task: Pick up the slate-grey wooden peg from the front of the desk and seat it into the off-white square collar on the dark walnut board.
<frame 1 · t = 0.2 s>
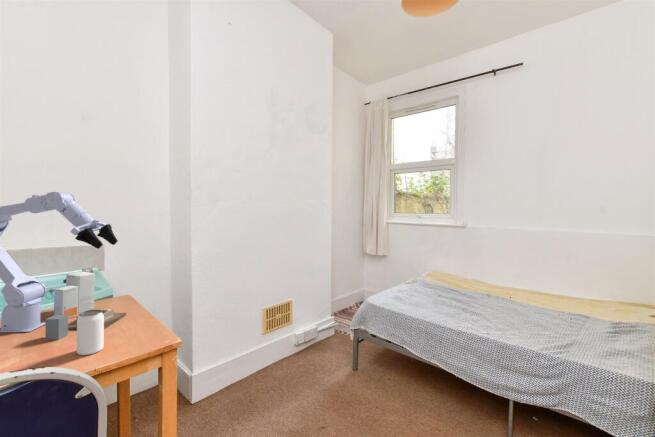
hand: (108, 244, 106), 31 cm above the table, tool tilted 45°, fingers open, 7 cm apart
skincare box: (80, 310, 124), on the table
skincare box 2: (66, 318, 115), on the table
grey peg: (57, 337, 99), on the table
can: (90, 351, 91), on the table
socket board: (95, 322, 112), on the table
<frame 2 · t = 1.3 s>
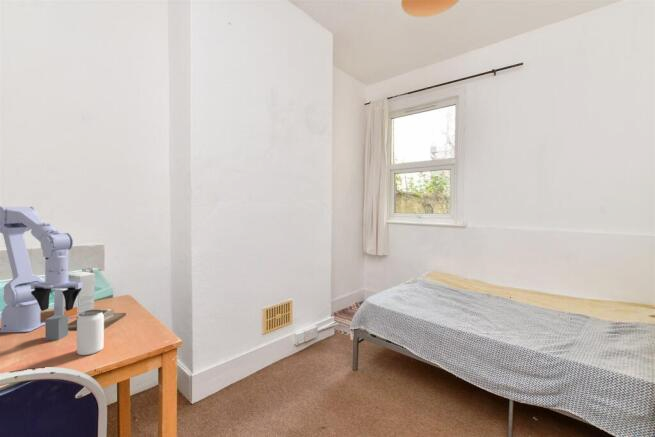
hand: (57, 309, 98), 9 cm above the table, tool pointing down, fingers open, 7 cm apart
nothing on the table moved.
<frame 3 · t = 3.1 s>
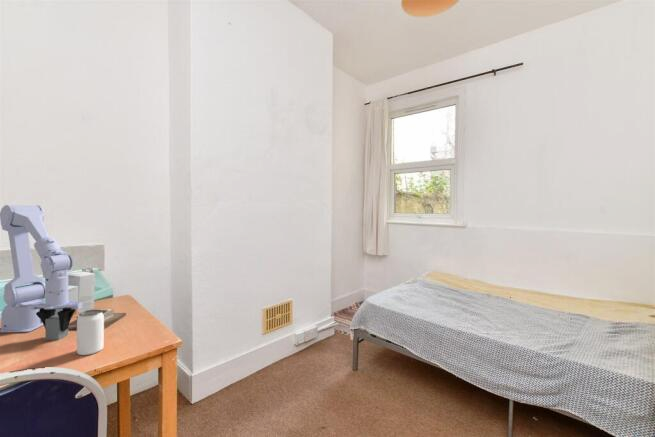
hand: (57, 330, 99), 2 cm above the table, tool pointing down, fingers closed on grey peg, 4 cm apart
grey peg: (57, 337, 99), on the table, touching gripper
everything else where it was.
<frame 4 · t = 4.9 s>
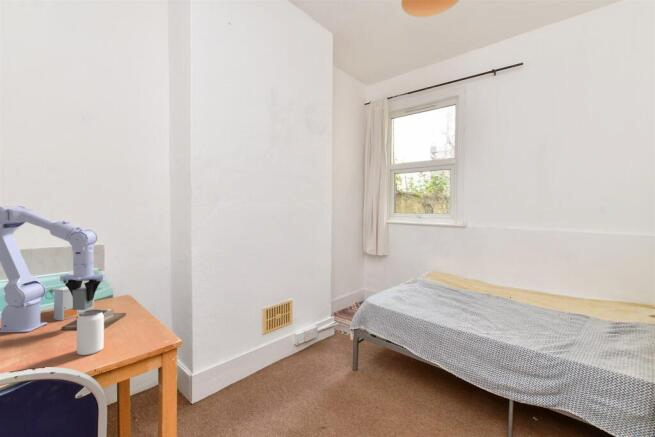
hand: (83, 300, 107), 10 cm above the table, tool pointing down, fingers closed on grey peg, 4 cm apart
grey peg: (82, 307, 107), point 7 cm above the table, touching gripper
everything else where it was.
when the fingers open (5 cm above the table, at t = 7.0 s): grey peg drops 1 cm, resting on socket board.
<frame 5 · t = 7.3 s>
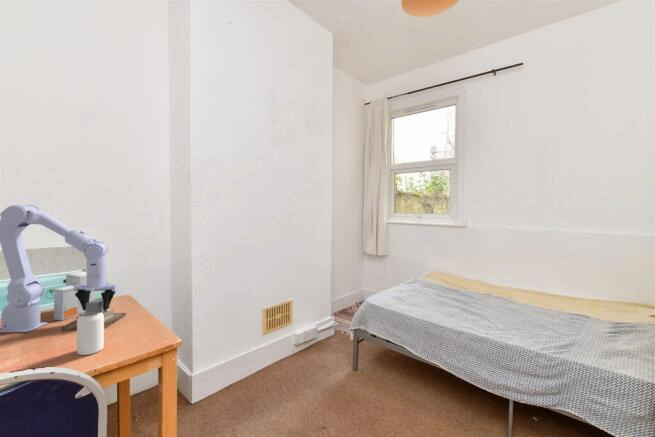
hand: (96, 309, 112), 5 cm above the table, tool pointing down, fingers open, 7 cm apart
grey peg: (95, 319, 112), point 1 cm above the table, touching socket board
everything else where it was.
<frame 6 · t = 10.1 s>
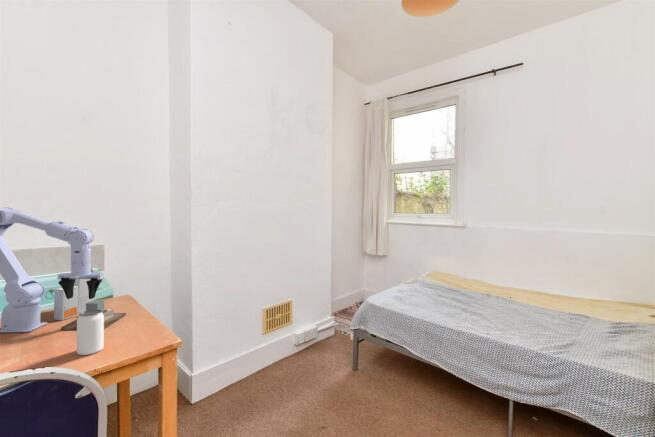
hand: (80, 298, 109), 10 cm above the table, tool pointing down, fingers open, 7 cm apart
nothing on the table moved.
at the end: grey peg 0.4 cm off-centre on the socket board, point 1.0 cm above the socket board's base; grey peg tilted 0°; the gripper is holding nothing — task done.
